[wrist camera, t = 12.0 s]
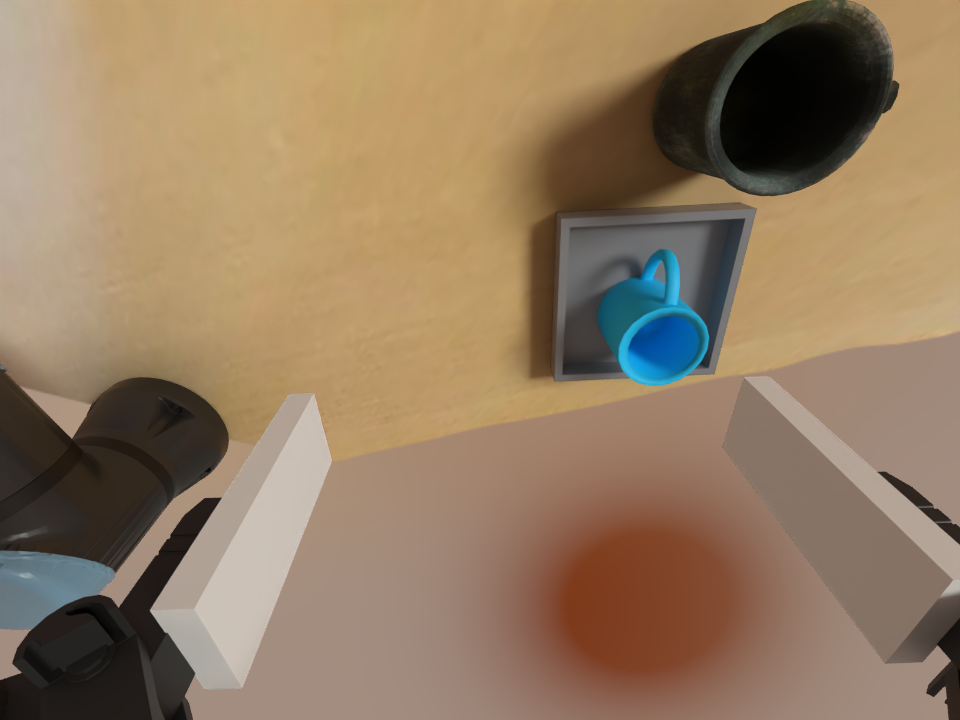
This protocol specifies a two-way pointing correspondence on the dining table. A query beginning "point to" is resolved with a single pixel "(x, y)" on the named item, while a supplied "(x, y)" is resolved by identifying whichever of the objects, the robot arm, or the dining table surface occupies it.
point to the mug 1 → (653, 325)
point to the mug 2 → (778, 98)
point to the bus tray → (623, 254)
